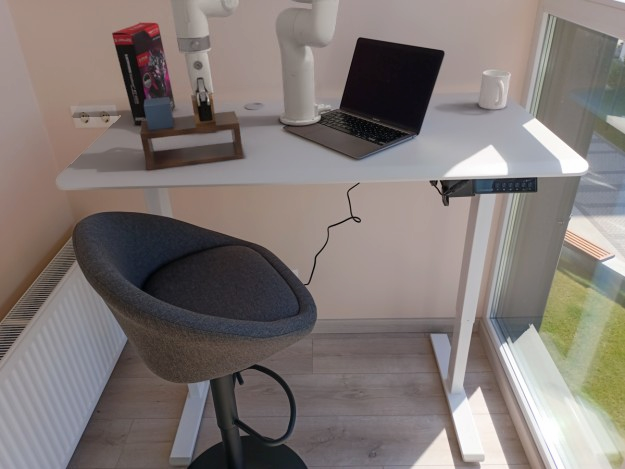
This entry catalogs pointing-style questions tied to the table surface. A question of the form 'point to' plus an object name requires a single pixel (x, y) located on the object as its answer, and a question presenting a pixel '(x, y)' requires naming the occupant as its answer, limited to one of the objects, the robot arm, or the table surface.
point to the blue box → (158, 113)
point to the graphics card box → (142, 66)
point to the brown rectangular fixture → (198, 152)
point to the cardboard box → (195, 103)
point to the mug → (494, 89)
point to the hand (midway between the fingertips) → (204, 114)
